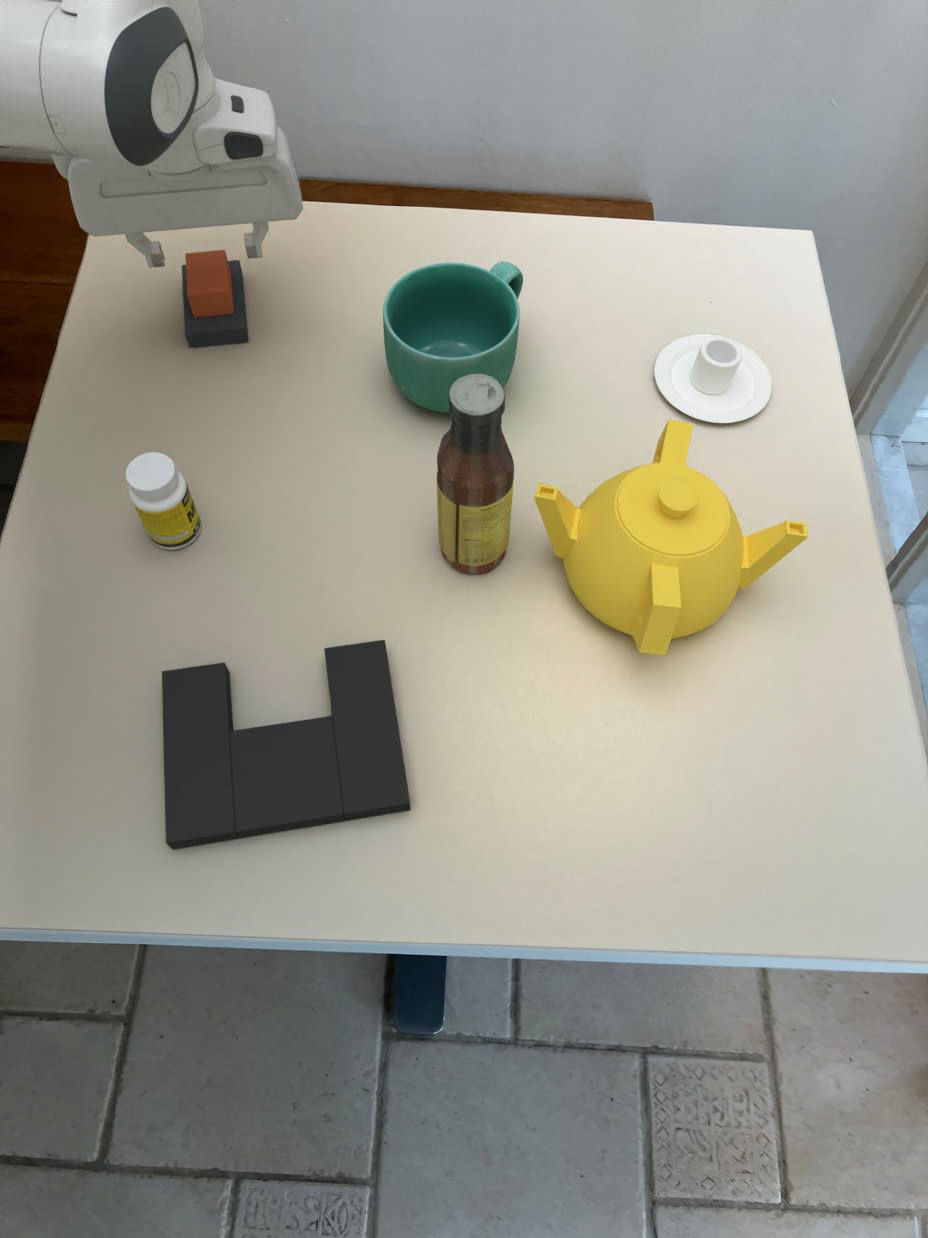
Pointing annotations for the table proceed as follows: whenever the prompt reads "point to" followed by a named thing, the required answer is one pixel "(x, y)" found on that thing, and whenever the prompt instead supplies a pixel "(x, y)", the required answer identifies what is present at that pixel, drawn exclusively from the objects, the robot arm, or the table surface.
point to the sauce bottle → (474, 477)
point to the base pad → (280, 755)
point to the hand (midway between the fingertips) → (206, 258)
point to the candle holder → (713, 378)
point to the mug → (451, 328)
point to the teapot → (659, 546)
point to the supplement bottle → (162, 501)
